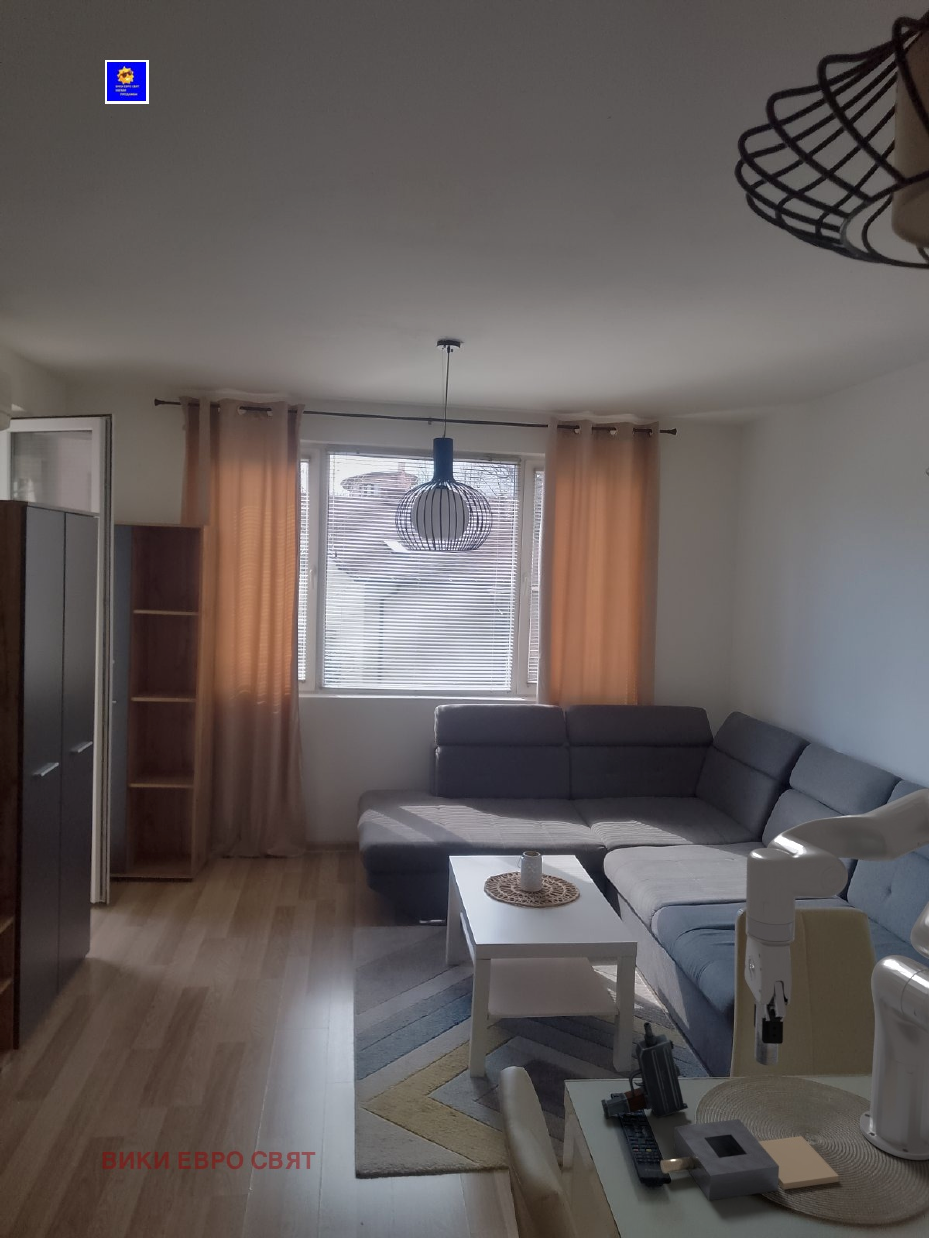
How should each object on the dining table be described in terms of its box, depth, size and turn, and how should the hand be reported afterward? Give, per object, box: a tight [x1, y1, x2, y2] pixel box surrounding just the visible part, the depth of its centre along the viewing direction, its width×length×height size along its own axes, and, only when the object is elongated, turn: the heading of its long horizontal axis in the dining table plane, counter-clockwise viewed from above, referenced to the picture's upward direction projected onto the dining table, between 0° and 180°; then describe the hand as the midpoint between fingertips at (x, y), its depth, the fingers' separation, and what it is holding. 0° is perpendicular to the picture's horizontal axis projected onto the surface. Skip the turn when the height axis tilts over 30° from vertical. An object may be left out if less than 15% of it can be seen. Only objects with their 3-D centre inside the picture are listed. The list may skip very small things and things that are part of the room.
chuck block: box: [659, 1118, 779, 1201], centre depth 140 cm, size 17×12×4 cm
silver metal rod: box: [753, 998, 779, 1067], centre depth 141 cm, size 4×4×13 cm
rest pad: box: [758, 1135, 840, 1190], centre depth 143 cm, size 10×10×1 cm
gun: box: [600, 1021, 689, 1119], centre depth 154 cm, size 3×17×15 cm
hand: (768, 1034), depth 141 cm, fingers closed on silver metal rod, 3 cm apart
